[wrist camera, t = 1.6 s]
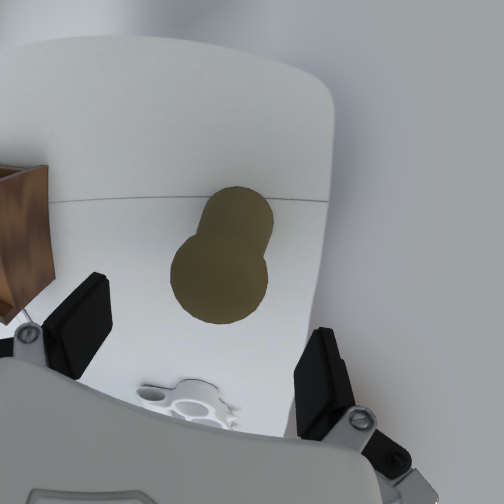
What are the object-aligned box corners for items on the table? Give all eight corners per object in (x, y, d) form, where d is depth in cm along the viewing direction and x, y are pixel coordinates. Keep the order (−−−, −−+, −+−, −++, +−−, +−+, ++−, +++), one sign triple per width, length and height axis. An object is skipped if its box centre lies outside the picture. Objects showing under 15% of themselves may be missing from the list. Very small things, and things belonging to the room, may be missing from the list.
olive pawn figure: (260, 263, 24) (253, 353, 14) (195, 242, 24) (148, 320, 14) (284, 200, 22) (296, 261, 12) (212, 177, 21) (164, 218, 11)
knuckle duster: (134, 368, 32) (240, 384, 32) (160, 428, 40) (240, 440, 39) (126, 386, 29) (238, 405, 29) (156, 442, 37) (238, 455, 36)
